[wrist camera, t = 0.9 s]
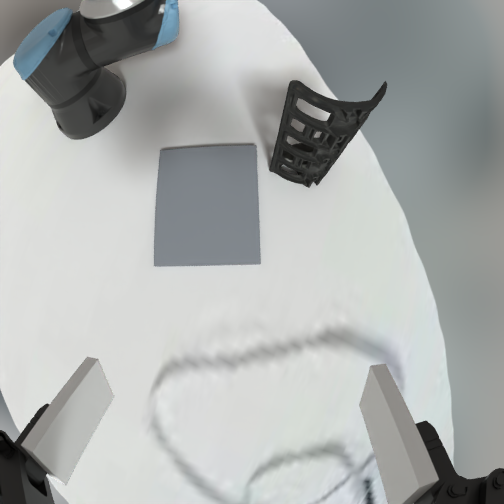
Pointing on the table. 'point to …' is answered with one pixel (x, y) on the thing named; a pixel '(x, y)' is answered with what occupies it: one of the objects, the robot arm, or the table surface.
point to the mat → (207, 207)
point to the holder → (315, 149)
